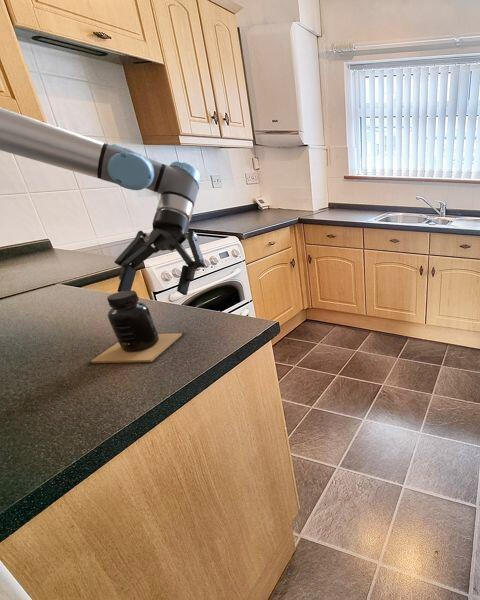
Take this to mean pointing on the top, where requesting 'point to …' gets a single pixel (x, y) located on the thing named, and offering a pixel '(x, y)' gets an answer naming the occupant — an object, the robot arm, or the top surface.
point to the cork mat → (147, 355)
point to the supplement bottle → (131, 322)
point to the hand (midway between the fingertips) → (152, 293)
